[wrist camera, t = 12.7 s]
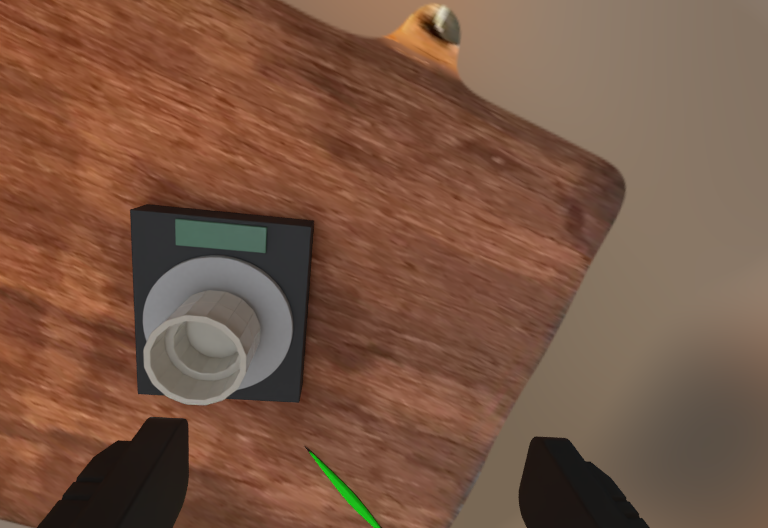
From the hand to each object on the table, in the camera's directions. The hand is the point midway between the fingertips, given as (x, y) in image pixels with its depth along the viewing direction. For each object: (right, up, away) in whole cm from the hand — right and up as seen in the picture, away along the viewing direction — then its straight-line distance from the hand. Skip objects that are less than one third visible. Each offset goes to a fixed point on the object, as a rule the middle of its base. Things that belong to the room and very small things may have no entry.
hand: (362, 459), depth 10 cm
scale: (-11, +2, +24) cm, 26 cm away
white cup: (-11, 0, +21) cm, 24 cm away
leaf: (-3, -17, +30) cm, 34 cm away
